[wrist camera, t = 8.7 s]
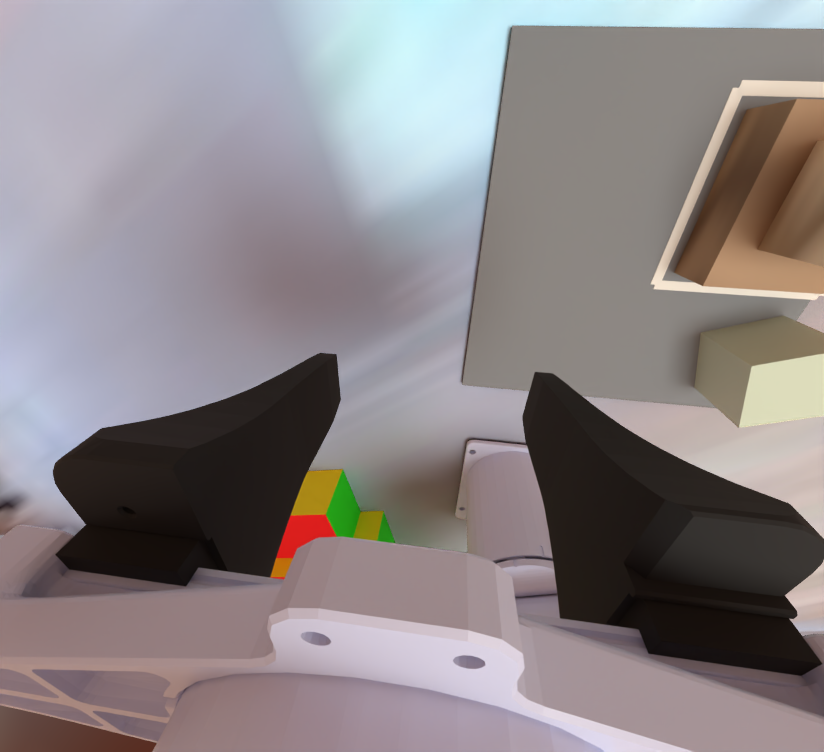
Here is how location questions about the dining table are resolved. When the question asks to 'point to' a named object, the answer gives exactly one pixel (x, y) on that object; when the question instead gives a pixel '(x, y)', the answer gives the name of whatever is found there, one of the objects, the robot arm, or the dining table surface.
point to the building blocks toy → (327, 517)
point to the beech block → (801, 215)
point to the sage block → (763, 371)
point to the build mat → (619, 203)
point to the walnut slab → (755, 203)
